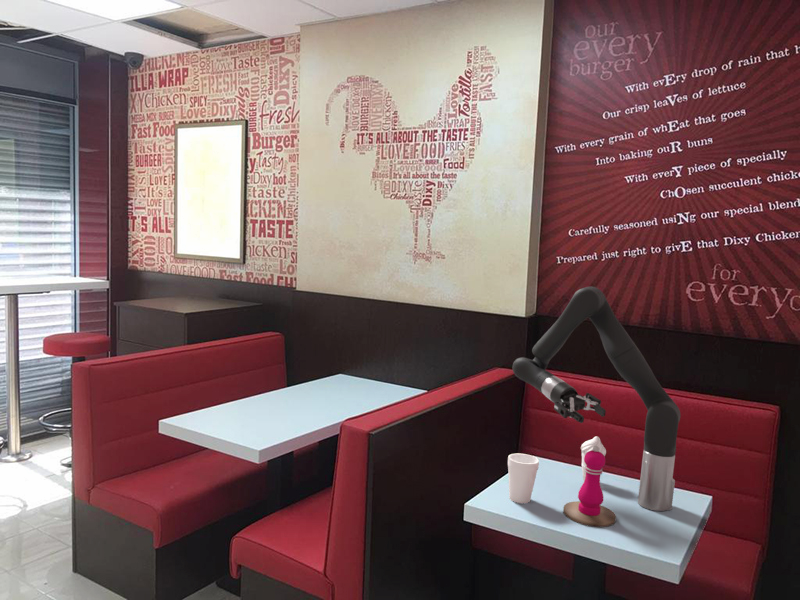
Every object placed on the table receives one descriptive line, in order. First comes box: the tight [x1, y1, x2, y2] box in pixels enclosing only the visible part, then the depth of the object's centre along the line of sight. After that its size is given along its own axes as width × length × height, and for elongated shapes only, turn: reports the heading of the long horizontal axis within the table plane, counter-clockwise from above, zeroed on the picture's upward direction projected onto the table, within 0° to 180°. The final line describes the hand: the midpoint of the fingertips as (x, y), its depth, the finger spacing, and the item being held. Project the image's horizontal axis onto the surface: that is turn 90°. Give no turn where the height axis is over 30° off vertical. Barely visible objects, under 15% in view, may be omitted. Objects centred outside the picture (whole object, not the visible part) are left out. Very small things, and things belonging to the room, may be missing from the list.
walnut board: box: [562, 500, 617, 528], centre depth 200 cm, size 15×15×1 cm
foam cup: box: [507, 452, 540, 504], centre depth 207 cm, size 10×9×13 cm
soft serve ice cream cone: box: [580, 436, 607, 482], centre depth 227 cm, size 8×8×16 cm
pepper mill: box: [577, 446, 606, 516], centre depth 199 cm, size 7×7×20 cm
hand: (593, 417), depth 203 cm, fingers open, 8 cm apart
